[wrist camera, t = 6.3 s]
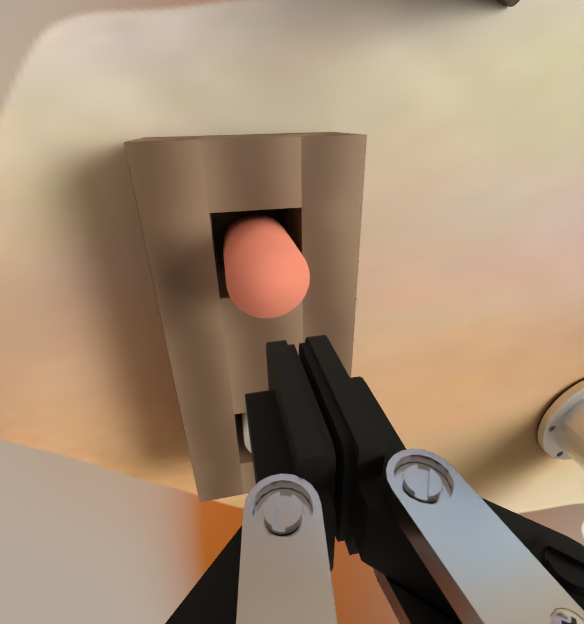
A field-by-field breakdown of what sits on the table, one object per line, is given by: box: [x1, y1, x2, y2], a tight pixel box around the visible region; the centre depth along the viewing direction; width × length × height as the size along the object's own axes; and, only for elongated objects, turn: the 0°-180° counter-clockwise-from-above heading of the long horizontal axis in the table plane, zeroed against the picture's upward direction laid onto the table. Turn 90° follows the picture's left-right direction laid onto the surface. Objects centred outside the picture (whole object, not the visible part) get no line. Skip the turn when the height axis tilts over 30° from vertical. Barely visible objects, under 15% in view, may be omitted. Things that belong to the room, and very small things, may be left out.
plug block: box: [124, 132, 367, 502], centre depth 27 cm, size 12×26×6 cm, turn 1°
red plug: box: [223, 214, 310, 318], centre depth 20 cm, size 4×4×6 cm
